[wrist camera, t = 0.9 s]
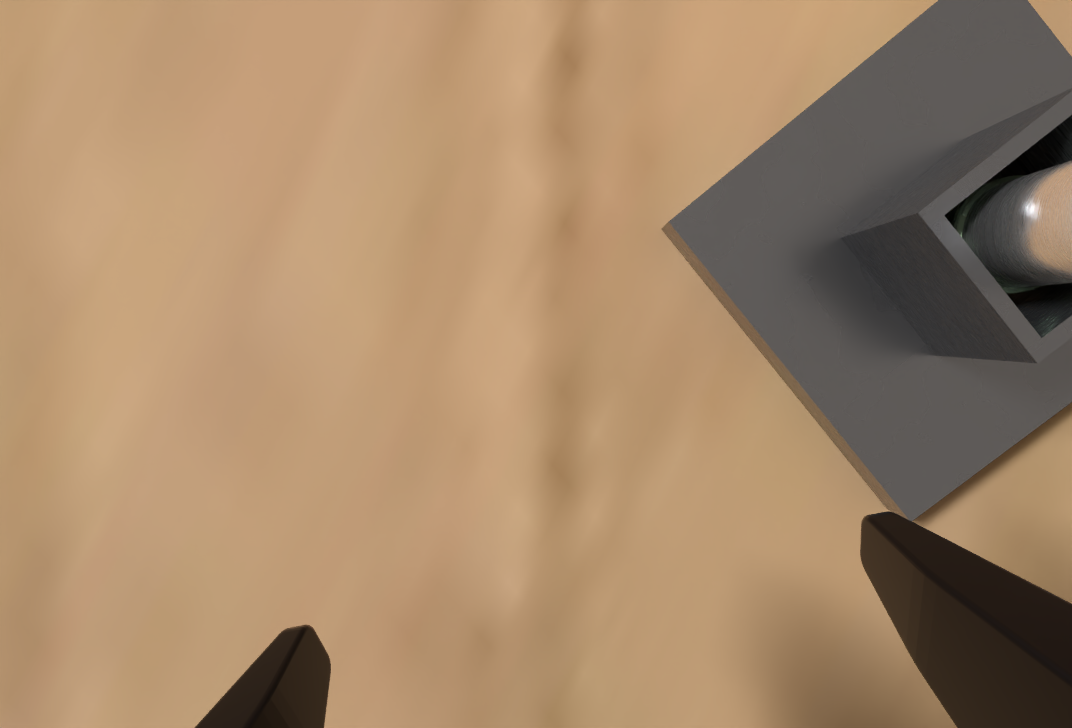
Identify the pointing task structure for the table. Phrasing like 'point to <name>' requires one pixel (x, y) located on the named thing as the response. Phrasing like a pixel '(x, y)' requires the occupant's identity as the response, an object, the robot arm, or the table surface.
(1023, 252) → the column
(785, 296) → the stand
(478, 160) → the table surface
